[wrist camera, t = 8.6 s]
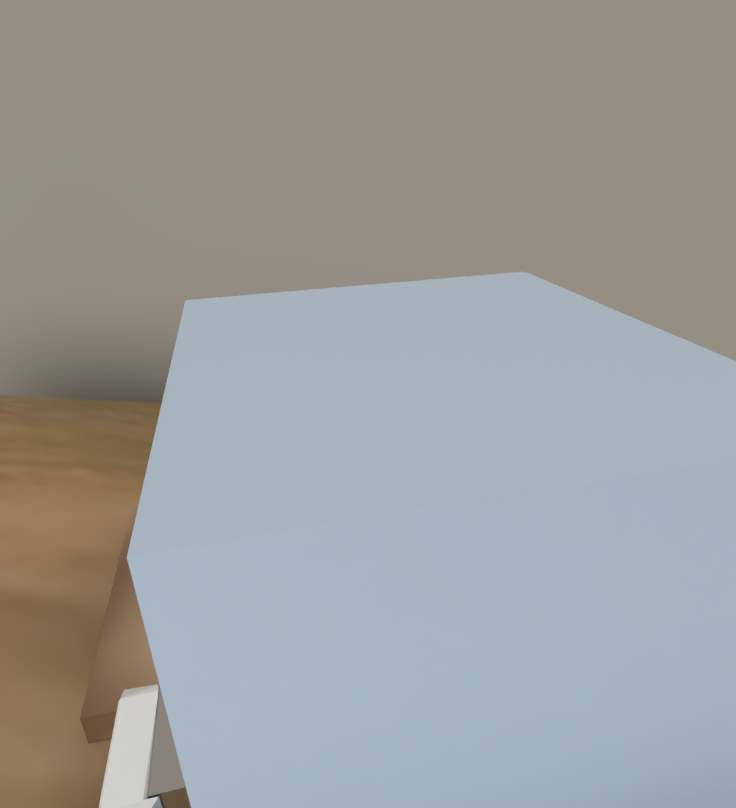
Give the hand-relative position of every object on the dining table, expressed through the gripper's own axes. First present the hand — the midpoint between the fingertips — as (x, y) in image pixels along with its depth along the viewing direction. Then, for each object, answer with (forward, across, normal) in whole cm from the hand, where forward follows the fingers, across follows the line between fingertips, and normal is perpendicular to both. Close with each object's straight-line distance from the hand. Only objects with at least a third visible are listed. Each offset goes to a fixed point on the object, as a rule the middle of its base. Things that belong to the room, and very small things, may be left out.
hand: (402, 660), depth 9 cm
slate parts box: (-1, 0, +8) cm, 9 cm away
